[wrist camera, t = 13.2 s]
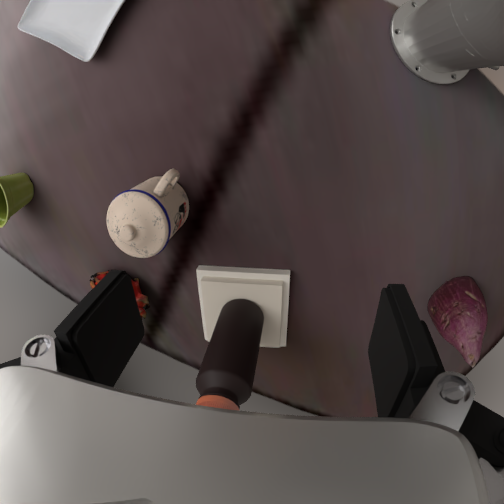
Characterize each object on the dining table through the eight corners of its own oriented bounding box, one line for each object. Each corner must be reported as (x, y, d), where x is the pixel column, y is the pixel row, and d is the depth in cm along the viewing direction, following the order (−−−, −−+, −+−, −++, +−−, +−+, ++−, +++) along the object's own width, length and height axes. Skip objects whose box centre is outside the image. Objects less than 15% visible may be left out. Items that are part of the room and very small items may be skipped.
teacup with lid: (173, 243, 48) (141, 282, 38) (127, 210, 47) (85, 240, 36) (214, 181, 43) (187, 207, 33) (162, 145, 42) (121, 160, 31)
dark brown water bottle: (218, 296, 48) (177, 400, 30) (263, 297, 47) (242, 408, 29) (223, 331, 51) (190, 433, 33) (265, 333, 50) (247, 440, 32)
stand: (290, 269, 47) (289, 280, 45) (286, 340, 54) (285, 352, 51) (199, 265, 49) (193, 274, 47) (207, 334, 55) (202, 345, 53)
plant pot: (11, 206, 50) (-18, 222, 42) (9, 161, 46) (-23, 173, 38) (40, 215, 50) (10, 233, 42) (39, 167, 45) (6, 180, 38)
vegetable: (449, 318, 51) (467, 387, 40) (414, 304, 49) (431, 382, 38) (487, 283, 44) (515, 355, 33) (454, 265, 42) (485, 345, 31)
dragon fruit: (160, 305, 56) (113, 262, 56) (163, 294, 49) (109, 245, 48) (130, 339, 52) (83, 295, 52) (128, 334, 44) (74, 282, 44)
